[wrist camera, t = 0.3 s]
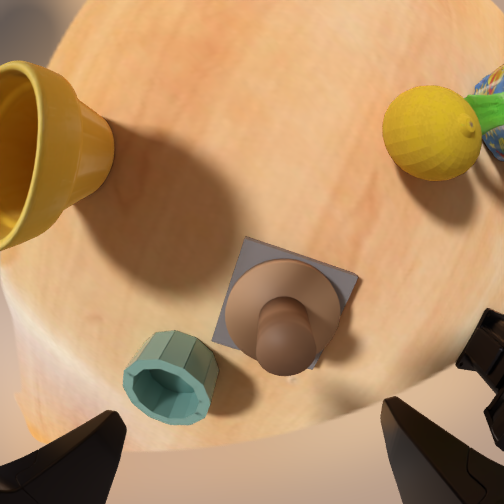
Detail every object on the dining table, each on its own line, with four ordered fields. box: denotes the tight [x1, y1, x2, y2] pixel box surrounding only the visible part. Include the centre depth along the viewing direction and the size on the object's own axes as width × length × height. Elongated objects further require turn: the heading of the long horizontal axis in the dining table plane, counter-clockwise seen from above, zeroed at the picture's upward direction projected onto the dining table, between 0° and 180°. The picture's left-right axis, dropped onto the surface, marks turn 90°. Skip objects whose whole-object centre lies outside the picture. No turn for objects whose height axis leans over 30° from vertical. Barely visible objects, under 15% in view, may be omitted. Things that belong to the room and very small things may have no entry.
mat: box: [212, 236, 358, 370], centre depth 20 cm, size 8×8×1 cm
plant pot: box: [0, 61, 114, 251], centre depth 13 cm, size 10×10×10 cm
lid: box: [225, 258, 340, 376], centre depth 17 cm, size 8×8×5 cm
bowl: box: [123, 330, 219, 425], centre depth 20 cm, size 7×7×4 cm
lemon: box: [382, 86, 482, 181], centre depth 13 cm, size 6×6×8 cm
